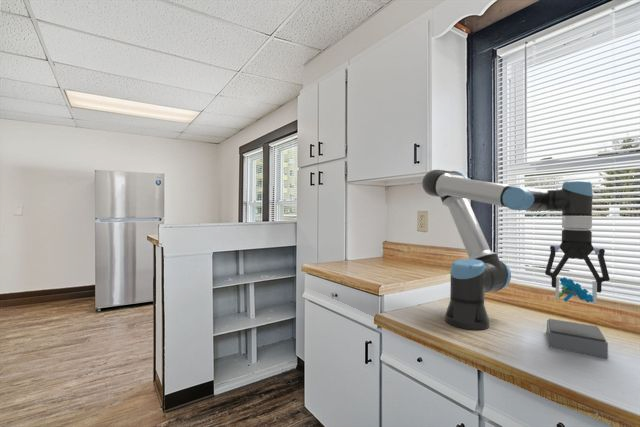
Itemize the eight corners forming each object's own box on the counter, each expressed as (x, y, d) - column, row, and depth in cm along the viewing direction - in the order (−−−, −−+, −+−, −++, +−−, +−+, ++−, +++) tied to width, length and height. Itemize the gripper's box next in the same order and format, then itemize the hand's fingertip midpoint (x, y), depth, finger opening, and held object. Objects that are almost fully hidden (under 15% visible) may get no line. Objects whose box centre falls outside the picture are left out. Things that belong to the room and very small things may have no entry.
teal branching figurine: (602, 301, 98) (575, 276, 100) (588, 315, 98) (560, 289, 100) (579, 297, 108) (554, 274, 110) (566, 309, 108) (542, 286, 110)
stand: (548, 346, 102) (548, 330, 102) (546, 332, 114) (546, 317, 114) (607, 358, 94) (607, 341, 94) (598, 341, 107) (599, 326, 107)
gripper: (618, 230, 101) (617, 302, 101) (536, 227, 113) (535, 292, 113) (624, 231, 95) (623, 308, 95) (536, 228, 107) (535, 297, 107)
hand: (575, 300), depth 104 cm, fingers closed on teal branching figurine, 9 cm apart
